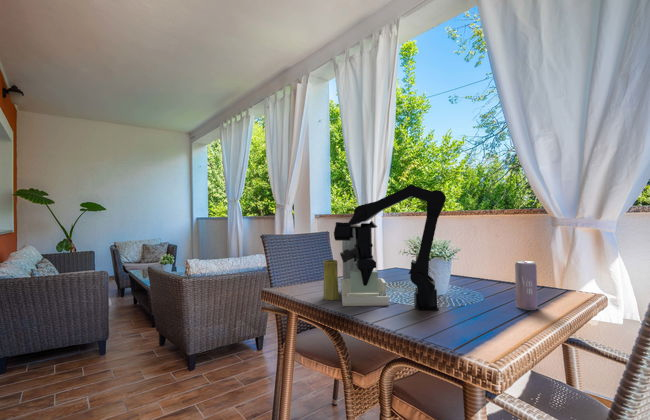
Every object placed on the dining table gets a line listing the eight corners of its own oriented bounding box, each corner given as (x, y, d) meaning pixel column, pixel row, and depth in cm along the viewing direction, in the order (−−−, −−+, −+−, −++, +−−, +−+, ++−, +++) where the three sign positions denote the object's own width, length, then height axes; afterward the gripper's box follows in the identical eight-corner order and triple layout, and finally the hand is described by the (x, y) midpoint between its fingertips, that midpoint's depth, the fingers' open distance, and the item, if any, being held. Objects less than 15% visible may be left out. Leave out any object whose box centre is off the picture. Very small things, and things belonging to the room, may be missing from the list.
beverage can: (536, 306, 107) (534, 261, 108) (539, 311, 102) (537, 263, 102) (515, 304, 110) (513, 260, 110) (517, 309, 104) (515, 262, 105)
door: (377, 290, 116) (376, 270, 116) (378, 291, 114) (377, 271, 114) (350, 290, 116) (350, 271, 117) (350, 292, 114) (350, 272, 114)
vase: (337, 300, 120) (337, 261, 120) (321, 300, 121) (320, 261, 121) (340, 296, 126) (339, 259, 126) (324, 296, 127) (324, 259, 127)
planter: (338, 292, 133) (337, 226, 133) (351, 287, 141) (349, 225, 142) (360, 295, 127) (358, 226, 128) (371, 290, 135) (370, 225, 136)
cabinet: (382, 296, 125) (382, 278, 125) (388, 305, 112) (388, 285, 112) (341, 296, 126) (341, 278, 126) (342, 305, 113) (342, 286, 113)
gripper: (340, 239, 125) (341, 280, 125) (341, 243, 106) (342, 291, 106) (369, 238, 125) (370, 279, 124) (375, 242, 106) (377, 290, 106)
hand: (364, 284), depth 115 cm, fingers closed on door, 2 cm apart
